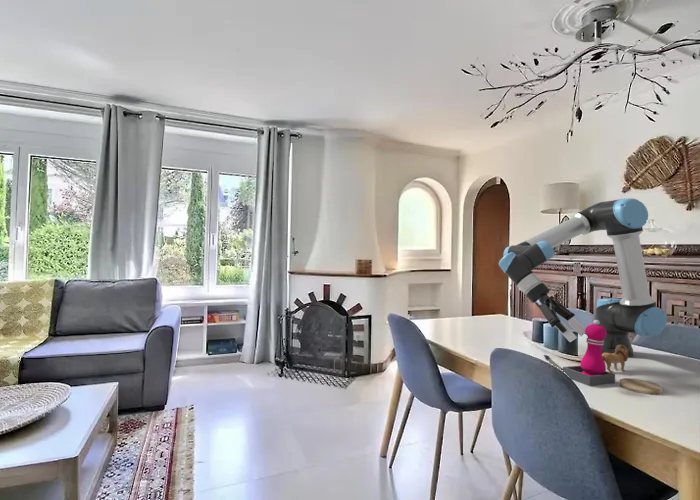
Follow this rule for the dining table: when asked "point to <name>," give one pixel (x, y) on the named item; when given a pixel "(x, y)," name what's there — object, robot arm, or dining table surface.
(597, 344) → the pepper mill
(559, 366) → the paintbrush
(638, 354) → the dining table surface
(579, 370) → the dark gray square tray
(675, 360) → the dining table surface
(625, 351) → the lion figurine
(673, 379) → the dining table surface
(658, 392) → the cork coaster
